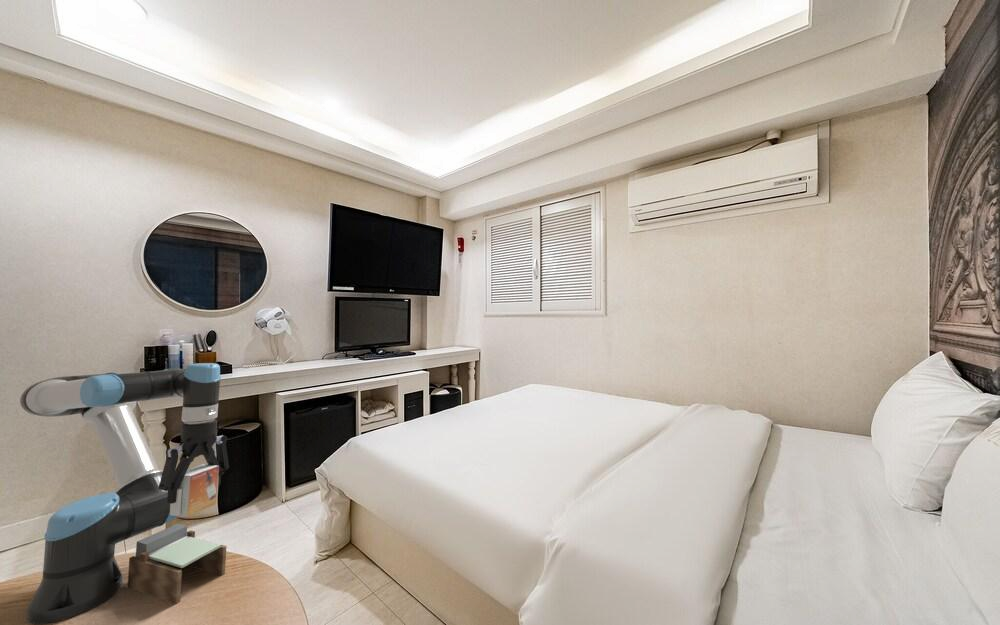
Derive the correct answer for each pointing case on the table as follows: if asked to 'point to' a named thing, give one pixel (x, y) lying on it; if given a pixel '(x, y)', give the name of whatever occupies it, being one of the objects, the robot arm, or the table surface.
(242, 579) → the table surface
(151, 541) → the trapdoor
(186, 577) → the table surface
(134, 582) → the trapdoor frame
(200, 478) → the small box
